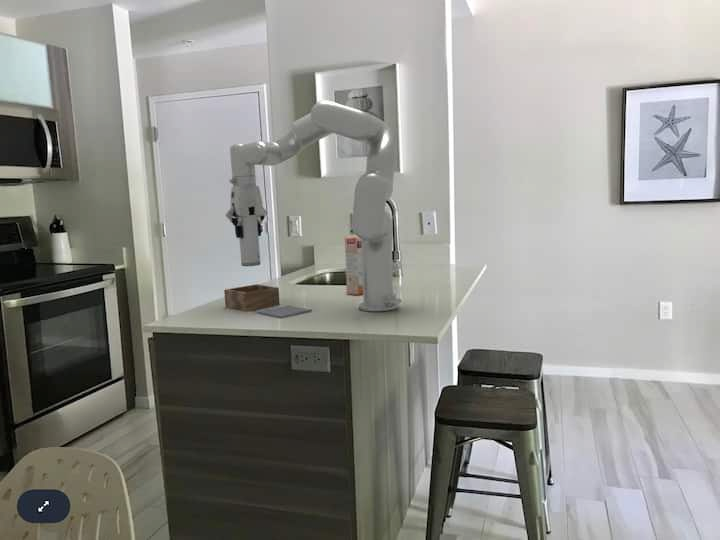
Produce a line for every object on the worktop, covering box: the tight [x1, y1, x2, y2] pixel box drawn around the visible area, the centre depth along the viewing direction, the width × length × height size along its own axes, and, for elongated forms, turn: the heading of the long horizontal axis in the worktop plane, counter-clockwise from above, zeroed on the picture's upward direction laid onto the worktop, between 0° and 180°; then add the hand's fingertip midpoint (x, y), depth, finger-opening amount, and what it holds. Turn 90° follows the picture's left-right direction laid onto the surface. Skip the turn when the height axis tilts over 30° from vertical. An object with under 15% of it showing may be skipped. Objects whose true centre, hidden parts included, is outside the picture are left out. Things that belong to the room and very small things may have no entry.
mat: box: [257, 304, 313, 319], centre depth 183 cm, size 12×12×1 cm
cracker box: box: [344, 235, 363, 296], centre depth 212 cm, size 14×6×21 cm, turn 146°
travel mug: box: [238, 206, 261, 267], centre depth 192 cm, size 6×7×20 cm
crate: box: [224, 283, 281, 313], centre depth 195 cm, size 13×13×6 cm
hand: (248, 236), depth 192 cm, fingers closed on travel mug, 6 cm apart
